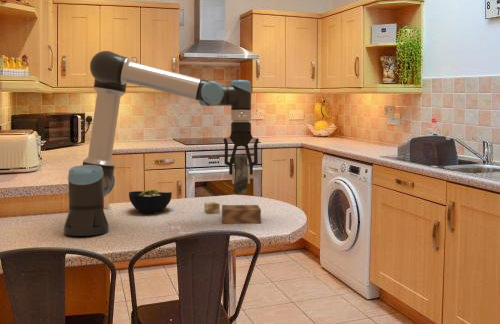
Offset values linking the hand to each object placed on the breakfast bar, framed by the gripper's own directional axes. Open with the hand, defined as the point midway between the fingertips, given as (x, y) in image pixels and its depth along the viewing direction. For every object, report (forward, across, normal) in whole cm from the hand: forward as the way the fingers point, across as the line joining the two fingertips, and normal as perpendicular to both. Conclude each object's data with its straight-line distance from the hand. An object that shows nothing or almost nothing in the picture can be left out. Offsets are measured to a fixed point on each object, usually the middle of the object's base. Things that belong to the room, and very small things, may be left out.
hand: (240, 183), depth 205 cm
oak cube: (+14, -11, +14) cm, 23 cm away
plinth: (+14, 0, 0) cm, 14 cm away
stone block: (+4, -2, 0) cm, 5 cm away
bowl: (+14, -36, +18) cm, 43 cm away
